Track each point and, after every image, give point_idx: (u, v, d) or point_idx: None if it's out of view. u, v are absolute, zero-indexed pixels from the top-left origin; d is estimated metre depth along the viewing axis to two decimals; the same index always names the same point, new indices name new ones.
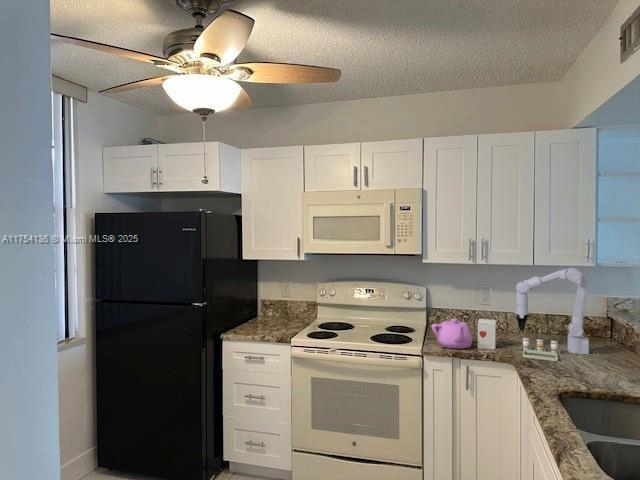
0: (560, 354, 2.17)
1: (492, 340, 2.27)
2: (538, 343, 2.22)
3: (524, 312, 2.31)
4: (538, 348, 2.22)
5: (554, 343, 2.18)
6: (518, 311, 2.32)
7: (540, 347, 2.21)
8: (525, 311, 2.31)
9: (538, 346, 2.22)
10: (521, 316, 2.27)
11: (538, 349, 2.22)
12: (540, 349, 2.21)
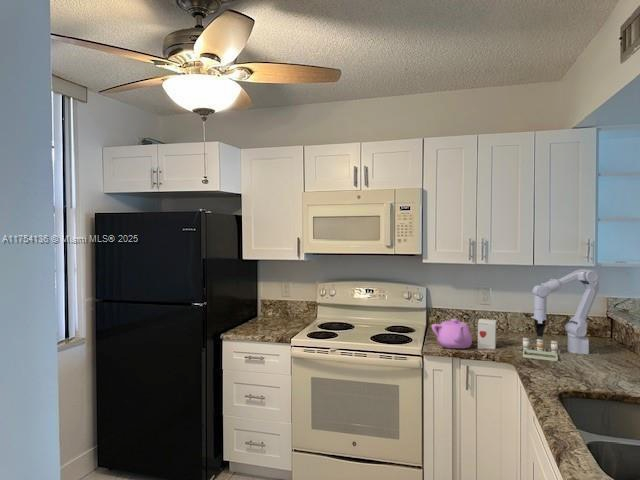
0: (560, 354, 2.17)
1: (492, 340, 2.27)
2: (538, 343, 2.22)
3: (542, 317, 2.20)
4: (538, 348, 2.22)
5: (554, 343, 2.18)
6: (536, 316, 2.21)
7: (540, 347, 2.21)
8: (543, 316, 2.20)
9: (538, 346, 2.22)
10: (540, 321, 2.16)
11: (538, 349, 2.22)
12: (540, 349, 2.21)
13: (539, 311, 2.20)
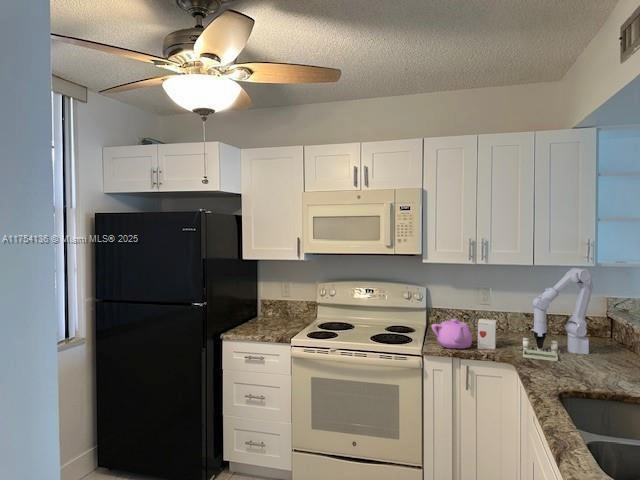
0: (560, 354, 2.17)
1: (492, 340, 2.27)
2: None
3: (542, 330, 2.20)
4: (538, 348, 2.22)
5: (554, 343, 2.18)
6: (536, 329, 2.21)
7: None
8: (543, 329, 2.20)
9: None
10: (540, 334, 2.16)
11: (538, 349, 2.22)
12: (540, 349, 2.21)
13: (539, 324, 2.20)
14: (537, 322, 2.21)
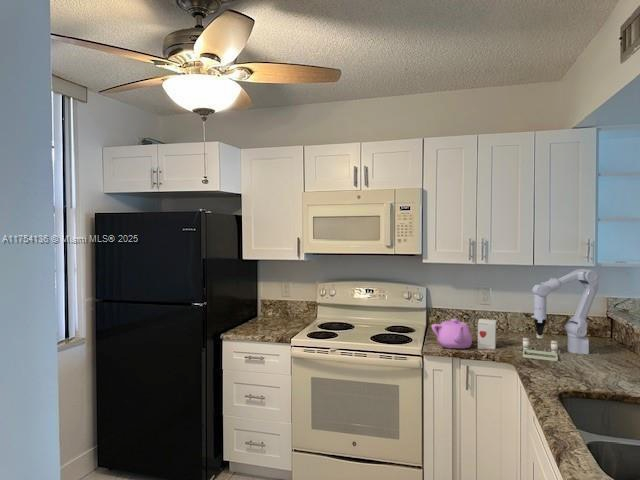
0: (560, 354, 2.17)
1: (492, 340, 2.27)
2: None
3: (542, 316, 2.19)
4: (538, 335, 2.21)
5: (554, 343, 2.18)
6: (536, 315, 2.20)
7: None
8: (543, 315, 2.19)
9: None
10: (540, 321, 2.15)
11: (538, 336, 2.21)
12: (540, 336, 2.20)
13: (539, 310, 2.19)
14: (537, 309, 2.20)
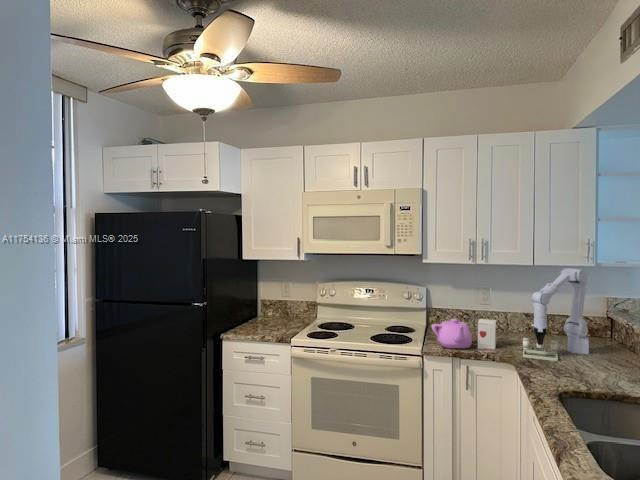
0: (560, 354, 2.17)
1: (492, 340, 2.27)
2: None
3: (543, 325, 2.11)
4: None
5: (554, 343, 2.18)
6: (536, 324, 2.12)
7: None
8: (544, 324, 2.11)
9: None
10: (540, 330, 2.07)
11: (538, 345, 2.13)
12: (541, 345, 2.12)
13: (539, 319, 2.11)
14: (537, 317, 2.12)
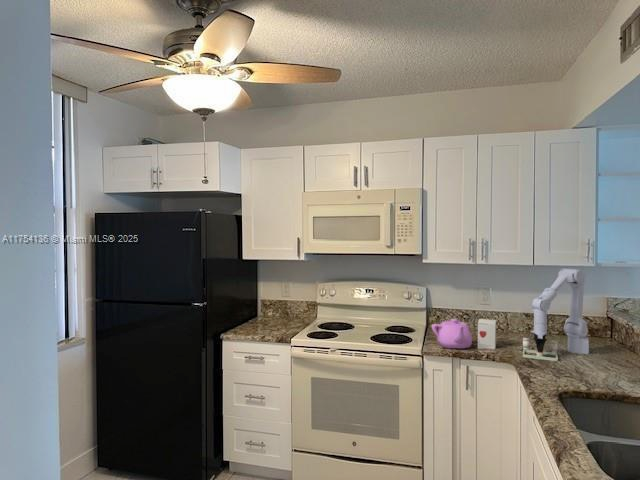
0: (560, 354, 2.17)
1: (492, 340, 2.27)
2: None
3: (543, 332, 2.11)
4: (538, 354, 2.13)
5: (554, 343, 2.18)
6: (536, 330, 2.12)
7: (540, 353, 2.12)
8: (544, 330, 2.11)
9: None
10: (540, 336, 2.07)
11: (538, 355, 2.13)
12: (541, 355, 2.12)
13: (539, 325, 2.11)
14: (537, 323, 2.12)
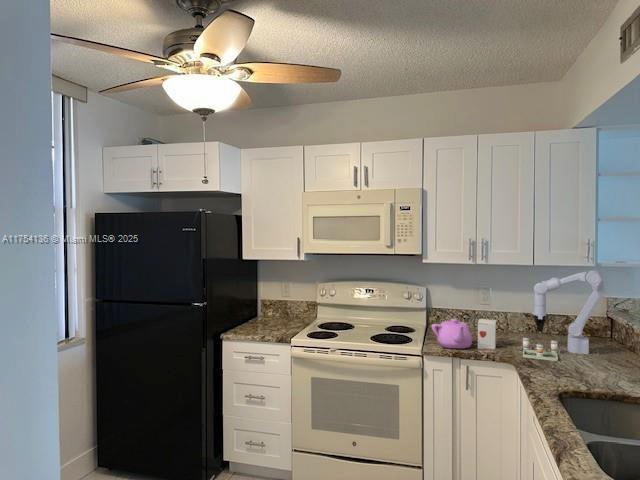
0: (560, 354, 2.17)
1: (492, 340, 2.27)
2: (538, 348, 2.13)
3: (542, 313, 2.28)
4: (538, 354, 2.13)
5: (554, 343, 2.18)
6: (536, 312, 2.30)
7: (540, 352, 2.12)
8: (543, 312, 2.28)
9: (538, 351, 2.13)
10: (540, 317, 2.25)
11: (538, 355, 2.13)
12: (541, 355, 2.12)
13: (539, 307, 2.29)
14: (537, 306, 2.29)
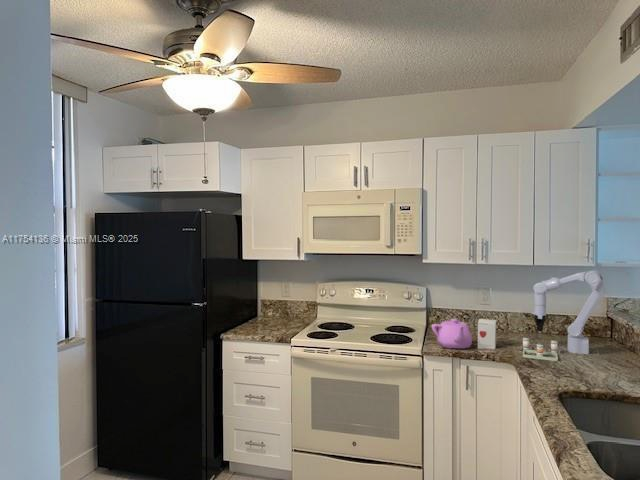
0: (560, 354, 2.17)
1: (492, 340, 2.27)
2: (538, 348, 2.13)
3: (542, 313, 2.29)
4: (538, 354, 2.13)
5: (554, 343, 2.18)
6: (536, 312, 2.31)
7: (540, 353, 2.12)
8: (543, 312, 2.30)
9: (538, 351, 2.13)
10: (540, 317, 2.26)
11: (538, 355, 2.13)
12: (541, 355, 2.12)
13: (539, 307, 2.30)
14: (537, 305, 2.31)
